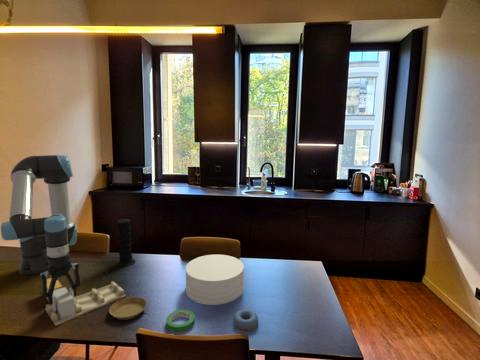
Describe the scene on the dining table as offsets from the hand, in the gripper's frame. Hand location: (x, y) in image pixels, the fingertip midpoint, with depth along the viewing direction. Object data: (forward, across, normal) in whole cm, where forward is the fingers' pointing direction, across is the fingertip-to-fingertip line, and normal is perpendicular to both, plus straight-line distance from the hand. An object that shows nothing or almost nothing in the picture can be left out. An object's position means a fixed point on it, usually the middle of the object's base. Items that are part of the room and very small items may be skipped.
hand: (63, 306), depth 118 cm
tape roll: (+3, +30, -41) cm, 51 cm away
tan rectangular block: (+3, 0, +16) cm, 16 cm away
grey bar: (+2, 0, 0) cm, 2 cm away
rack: (+3, +9, 0) cm, 9 cm away
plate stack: (+3, +57, -31) cm, 65 cm away
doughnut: (+3, +48, -60) cm, 77 cm away
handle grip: (+3, +39, +27) cm, 47 cm away
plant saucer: (+3, +19, -19) cm, 27 cm away
